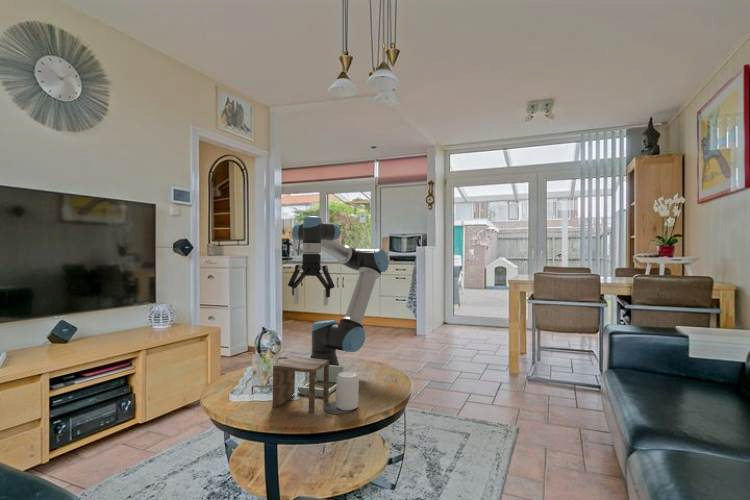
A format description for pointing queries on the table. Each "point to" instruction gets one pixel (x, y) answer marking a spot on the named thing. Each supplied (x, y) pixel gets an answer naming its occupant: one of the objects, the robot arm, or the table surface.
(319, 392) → the grey blocky pieces
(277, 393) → the wooden step stool
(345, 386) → the beverage can
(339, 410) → the coaster
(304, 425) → the table surface
